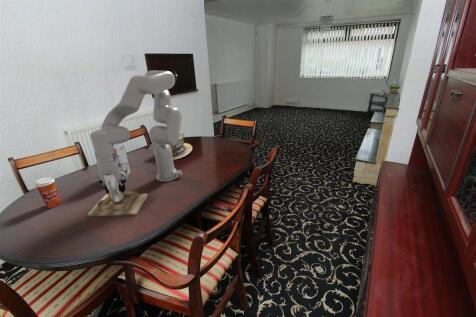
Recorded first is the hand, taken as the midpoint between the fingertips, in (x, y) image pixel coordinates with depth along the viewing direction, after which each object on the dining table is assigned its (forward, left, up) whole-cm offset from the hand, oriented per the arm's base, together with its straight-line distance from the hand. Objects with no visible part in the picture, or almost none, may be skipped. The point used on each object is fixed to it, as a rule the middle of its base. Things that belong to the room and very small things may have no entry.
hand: (116, 191), depth 113 cm
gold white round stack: (-13, -65, -8) cm, 67 cm away
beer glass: (0, 0, -5) cm, 5 cm away
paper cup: (+34, -2, -8) cm, 35 cm away
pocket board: (0, 0, -8) cm, 8 cm away
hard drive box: (+14, -28, -8) cm, 32 cm away
